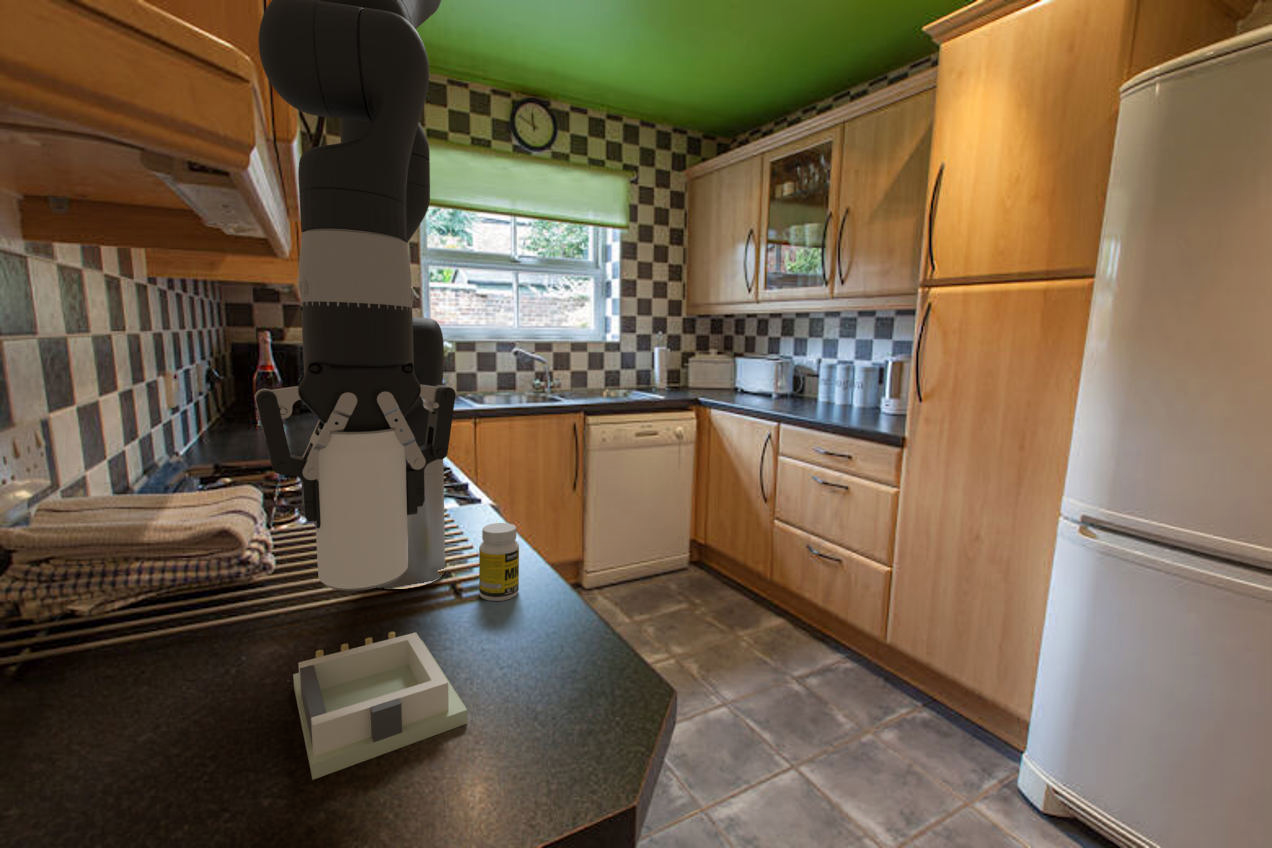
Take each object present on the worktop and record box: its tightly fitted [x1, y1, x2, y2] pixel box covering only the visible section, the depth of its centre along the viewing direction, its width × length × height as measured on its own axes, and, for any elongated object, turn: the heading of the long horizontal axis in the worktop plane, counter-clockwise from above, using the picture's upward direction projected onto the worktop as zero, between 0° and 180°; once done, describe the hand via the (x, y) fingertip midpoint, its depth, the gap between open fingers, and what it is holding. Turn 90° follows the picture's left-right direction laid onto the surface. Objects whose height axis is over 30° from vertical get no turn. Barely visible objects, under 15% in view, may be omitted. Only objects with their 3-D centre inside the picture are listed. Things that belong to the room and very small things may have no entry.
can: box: [315, 426, 408, 592], centre depth 45 cm, size 6×6×12 cm
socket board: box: [292, 631, 468, 781], centre depth 48 cm, size 13×11×4 cm
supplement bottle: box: [478, 522, 520, 602], centre depth 70 cm, size 5×5×8 cm
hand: (366, 517), depth 45 cm, fingers closed on can, 6 cm apart
